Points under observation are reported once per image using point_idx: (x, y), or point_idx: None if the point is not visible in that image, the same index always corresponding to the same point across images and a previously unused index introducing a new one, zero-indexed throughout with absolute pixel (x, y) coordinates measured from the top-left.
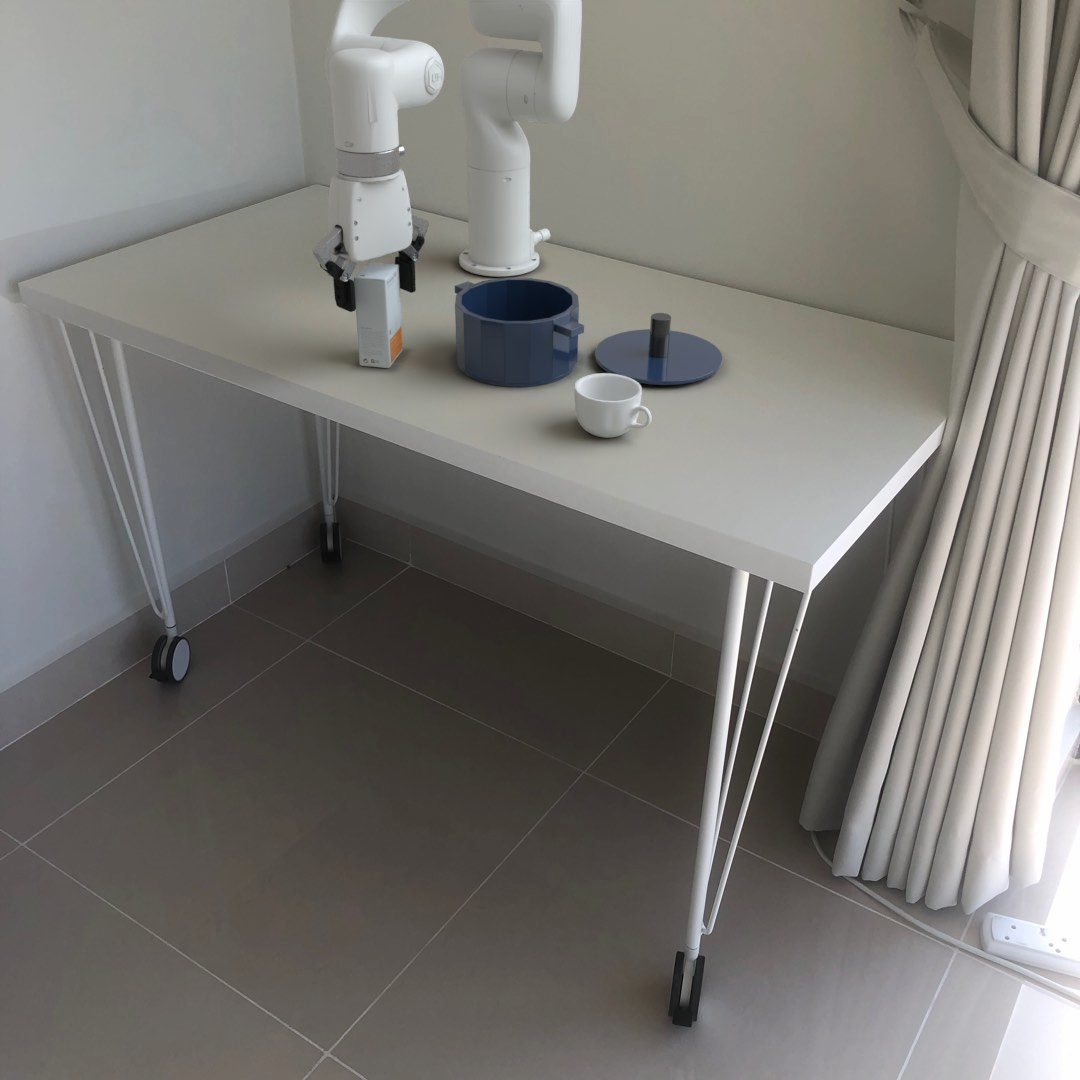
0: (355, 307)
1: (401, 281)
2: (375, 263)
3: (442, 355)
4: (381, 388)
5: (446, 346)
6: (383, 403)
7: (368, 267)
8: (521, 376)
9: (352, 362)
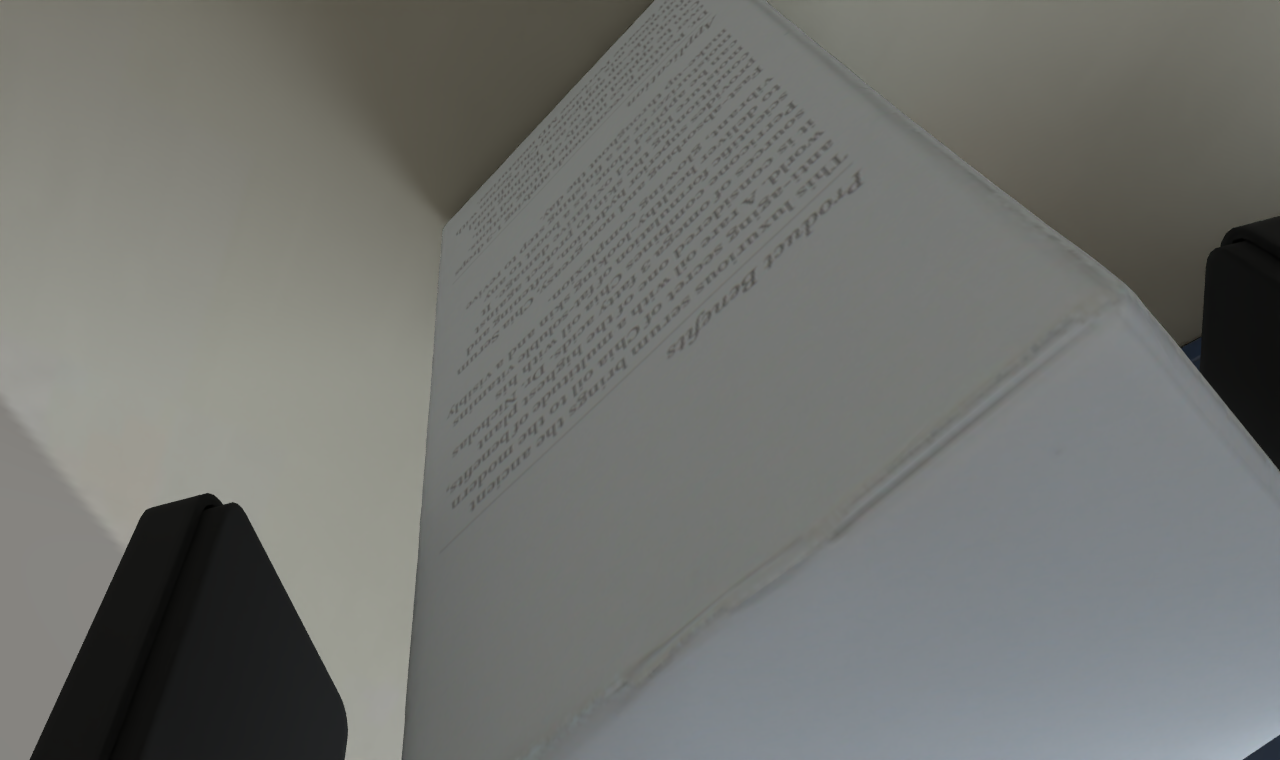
0: (340, 746)
1: (1270, 402)
2: (1146, 464)
3: None
4: None
5: (1171, 208)
6: (383, 719)
7: (883, 607)
8: None
9: (418, 119)
